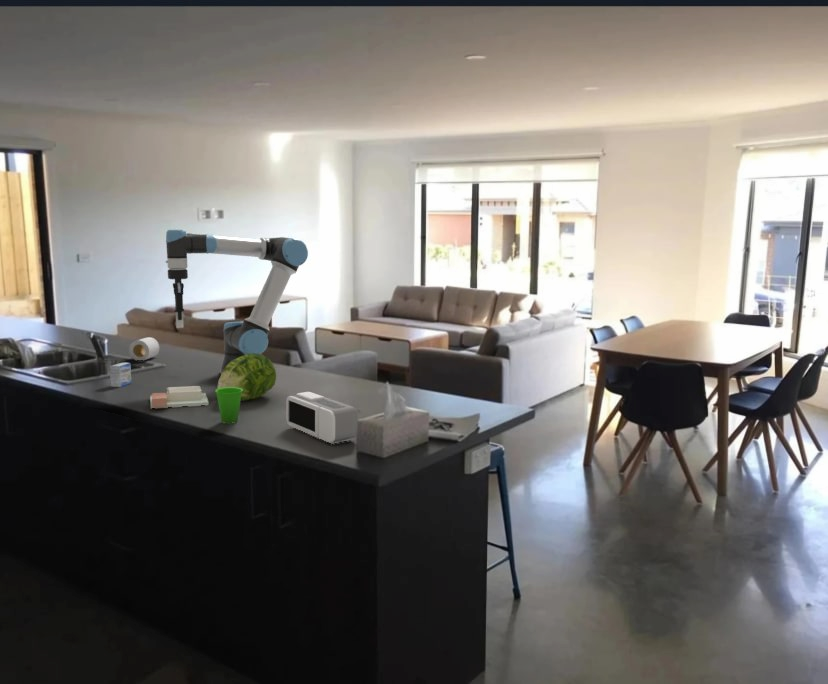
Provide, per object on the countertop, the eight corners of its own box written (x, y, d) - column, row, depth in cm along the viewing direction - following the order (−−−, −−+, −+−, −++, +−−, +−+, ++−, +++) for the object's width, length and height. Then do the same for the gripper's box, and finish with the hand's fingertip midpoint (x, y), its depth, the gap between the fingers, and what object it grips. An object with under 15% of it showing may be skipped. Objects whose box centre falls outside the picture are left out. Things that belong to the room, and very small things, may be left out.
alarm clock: (285, 427, 242) (285, 392, 240) (309, 423, 248) (309, 389, 246) (332, 448, 222) (332, 410, 220) (357, 442, 228) (357, 405, 226)
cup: (218, 418, 252) (217, 386, 250) (245, 418, 252) (244, 387, 251) (213, 425, 243) (212, 393, 241) (241, 425, 244) (240, 393, 242)
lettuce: (205, 401, 275) (204, 360, 269) (250, 381, 294) (251, 342, 287) (238, 417, 267) (238, 375, 260) (282, 396, 285) (284, 356, 279)
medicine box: (120, 387, 293) (119, 366, 292) (110, 386, 294) (109, 365, 293) (131, 383, 301) (130, 362, 299) (121, 382, 302) (121, 362, 300)
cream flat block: (200, 393, 281) (199, 385, 281) (201, 398, 273) (201, 390, 272) (167, 395, 277) (166, 387, 277) (167, 400, 269) (167, 392, 268)
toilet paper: (140, 356, 358) (139, 336, 356) (159, 357, 357) (159, 337, 355) (129, 360, 348) (128, 339, 347) (149, 361, 347) (148, 340, 345)
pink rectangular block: (166, 400, 269) (166, 392, 269) (166, 406, 261) (166, 398, 260) (151, 401, 268) (151, 393, 267) (152, 407, 259) (151, 398, 259)
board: (205, 395, 282) (205, 392, 282) (208, 405, 269) (208, 402, 268) (150, 399, 276) (150, 395, 275) (150, 408, 262) (150, 405, 262)
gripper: (166, 267, 295) (169, 325, 299) (168, 270, 283) (171, 330, 287) (186, 267, 298) (188, 325, 302) (188, 269, 286) (191, 329, 290)
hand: (180, 327), depth 294 cm, fingers closed
